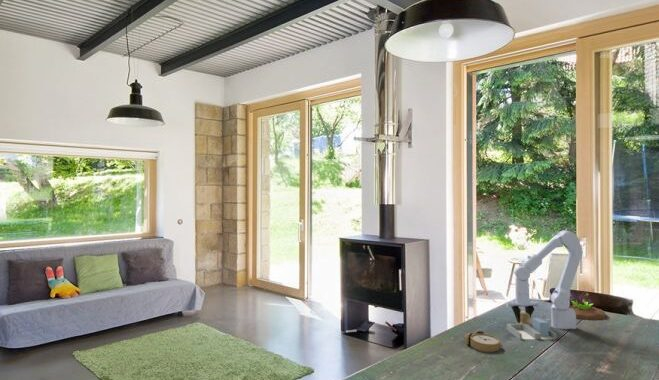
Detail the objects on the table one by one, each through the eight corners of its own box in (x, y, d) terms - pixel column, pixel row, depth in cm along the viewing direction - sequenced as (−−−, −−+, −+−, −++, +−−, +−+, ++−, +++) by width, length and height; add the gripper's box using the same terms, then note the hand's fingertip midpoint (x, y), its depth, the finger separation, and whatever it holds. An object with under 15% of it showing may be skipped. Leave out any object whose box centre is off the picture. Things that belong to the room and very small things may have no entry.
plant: (613, 320, 204) (613, 297, 205) (569, 319, 207) (569, 296, 207) (593, 309, 224) (593, 288, 224) (554, 309, 227) (553, 287, 227)
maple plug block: (523, 323, 201) (523, 310, 201) (530, 328, 194) (530, 315, 194) (516, 323, 201) (515, 310, 201) (522, 328, 194) (521, 315, 194)
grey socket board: (541, 330, 190) (540, 323, 190) (556, 341, 176) (556, 333, 176) (506, 330, 191) (506, 323, 191) (519, 341, 177) (519, 333, 177)
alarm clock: (487, 346, 163) (458, 329, 176) (485, 359, 164) (456, 341, 177) (507, 341, 169) (477, 325, 181) (505, 353, 169) (476, 336, 182)
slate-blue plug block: (541, 331, 186) (540, 317, 186) (548, 336, 179) (548, 322, 179) (532, 331, 186) (532, 317, 187) (540, 336, 179) (539, 322, 180)
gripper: (534, 290, 202) (535, 319, 201) (503, 290, 202) (503, 319, 202) (541, 294, 194) (542, 324, 194) (509, 294, 195) (509, 324, 195)
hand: (522, 322), depth 198 cm, fingers open, 4 cm apart
